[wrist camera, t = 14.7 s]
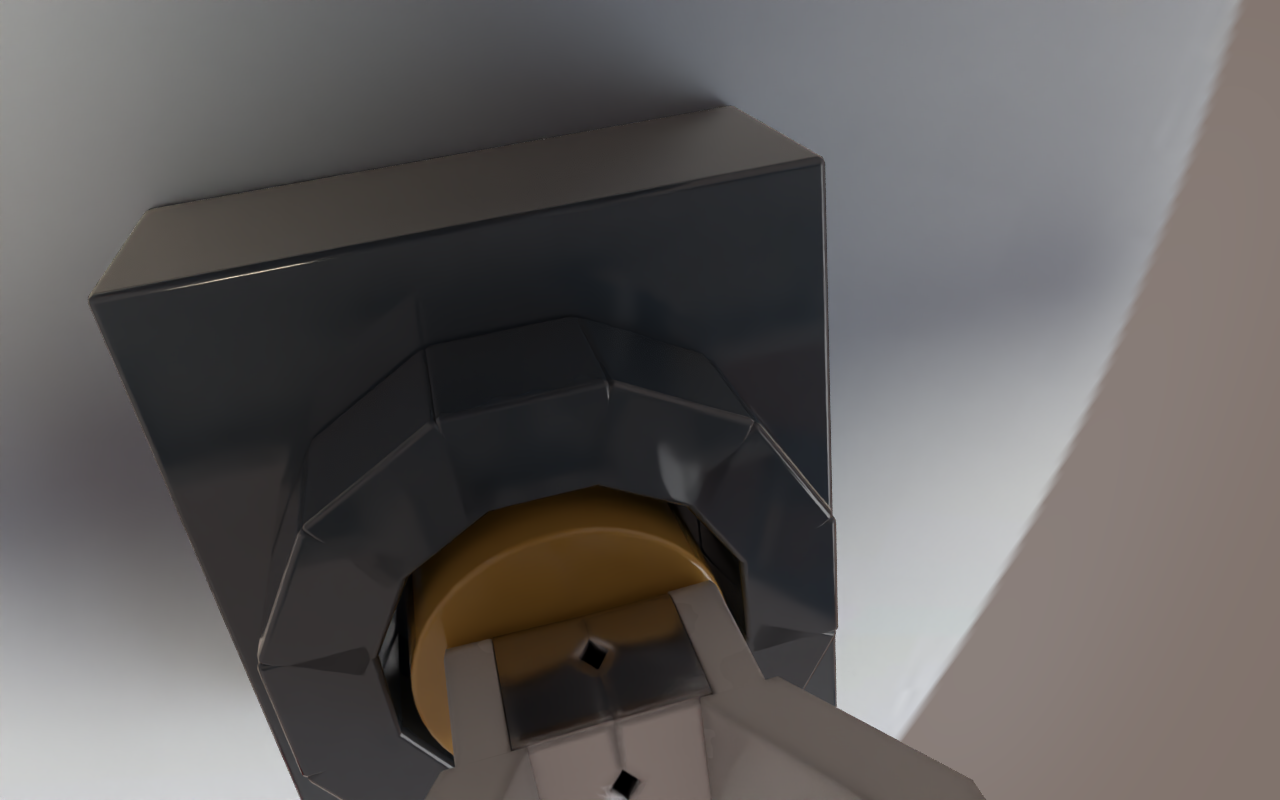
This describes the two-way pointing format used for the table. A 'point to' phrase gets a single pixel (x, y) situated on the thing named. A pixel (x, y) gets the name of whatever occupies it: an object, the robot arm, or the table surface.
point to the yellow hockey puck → (540, 577)
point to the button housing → (482, 396)
